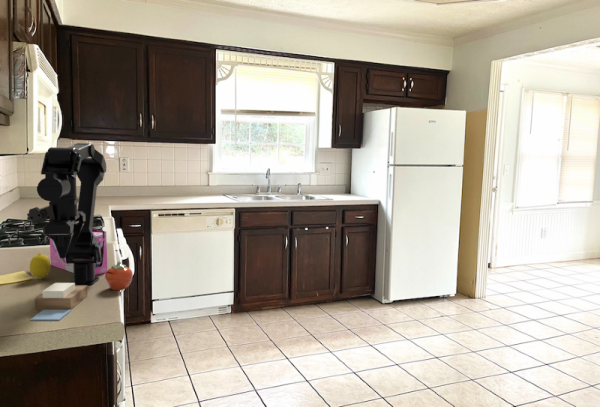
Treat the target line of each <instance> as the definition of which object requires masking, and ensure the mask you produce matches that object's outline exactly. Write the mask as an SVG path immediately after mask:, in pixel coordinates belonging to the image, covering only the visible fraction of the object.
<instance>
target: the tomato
mask: <svg viewBox="0 0 600 407" xmlns="http://www.w3.org/2000/svg"><path fill="white" fill-rule="evenodd" d="M133 276H134V275H133V270H132V269H131V268H130V267H128V266H127V264H122V263H121V261H120V260H119V261H117V263H116V264H114V265H112V266H111V268H109V269H107V272H106V273H105V277H104V278H105V282H106V284H107V285H108V286H109V288H110V289H112V291H123V290H126V289H127V288H128V287H129V286H130V285H131V282H132V281H133Z"/></svg>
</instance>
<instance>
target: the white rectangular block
mask: <svg viewBox="0 0 600 407" xmlns="http://www.w3.org/2000/svg"><path fill="white" fill-rule="evenodd" d="M74 290H75V283H70V282H54V283H53V284H51V285H49V286H48V287H46V288H45V289H43V290H42V293H41V294H43V298H64V297H66V296H67V295H68V294H70V293H71V292H72V291H74Z"/></svg>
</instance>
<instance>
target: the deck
mask: <svg viewBox="0 0 600 407" xmlns="http://www.w3.org/2000/svg"><path fill="white" fill-rule="evenodd" d="M88 292H89V291H88V285H75V290H74V291H72V292H71V293H70V294H68V295H67V296H66V297H64V298H43V294H42V293H41V294H39V295H38V296H36V297H35V298H34V309H35V311H43V310H71V311H72V310H73V309H74V308H75V307H77V305H79V304H80V303H81V302H83V301H84V300H85V299H87V297H88V296H89V295H88ZM84 298H85V299H84ZM83 299H84V300H83Z"/></svg>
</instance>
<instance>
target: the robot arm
mask: <svg viewBox="0 0 600 407" xmlns="http://www.w3.org/2000/svg"><path fill="white" fill-rule="evenodd" d="M106 172H107V163H106V160H105V157H104V155H103V154H102V153H101V152H99V151H98V150H97V149H96V148H95V145H94V144H92V143H88V142H87V143H83V142H77V143H74V144H73V145H70V146H68V147H56V146H55V147H54V146H53V147H52V146H51V147H49V148H48V149H47V151H45V154H44V158H43V162H42V167H41V171H40V175H43V176H45V177H44V178H43V179H41V180H40V181H39V182H38V184H37V187H36V192H37V194H38V196H39V197H40V198H41V199H42V200H44V201H46V202H48V205H45V206H43V207H41V208H39V207H38V206H36V207H33V208H30V209H29V210H28V213H27V214H26V215H27V218H26V220H27V221H30V223H31V225H32V226H34V225H36V224H38V223H40V222H43V221H46V220H48V222H46V223H44V224H43V226H42V234H43V235H44V236H46V237H47V238H49V239H50V238H51V239H52V240H53V241H54V243H55V246H56V248H57V251H58V254H59V257H60V258H61V259H64V258H66V263H67V264H69V263H73V268H74V273H73V280H71V281H70V282H69V283H75V285H87V286H89V285H93V284H94V283H96V282H97V281H98V280H99V279H100V277H99V276H96V275H95V265H94V263H98V262H101V252H100V249H99V247H98V244H97V239H96V238H95V236H94V234H93V232H92V229H93V224H94V216H95V207H96V197H97V188H98V186H99V185H100V184H101V182H103V180H104V178H105V177H104V176H105V174H106ZM77 178H78V180H79V181H80V187H79V188H80V189H79V197H78V196H77V193H78V192H77ZM93 257H94V258H93Z"/></svg>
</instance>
